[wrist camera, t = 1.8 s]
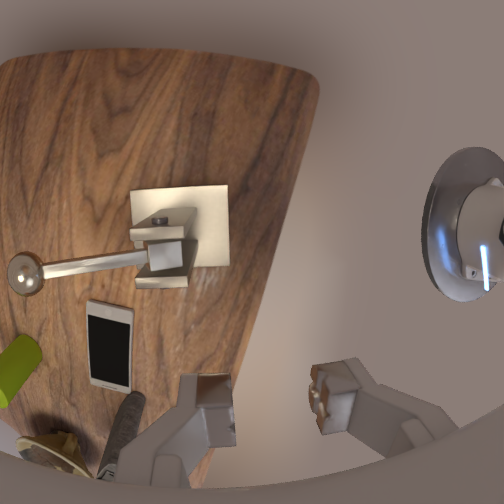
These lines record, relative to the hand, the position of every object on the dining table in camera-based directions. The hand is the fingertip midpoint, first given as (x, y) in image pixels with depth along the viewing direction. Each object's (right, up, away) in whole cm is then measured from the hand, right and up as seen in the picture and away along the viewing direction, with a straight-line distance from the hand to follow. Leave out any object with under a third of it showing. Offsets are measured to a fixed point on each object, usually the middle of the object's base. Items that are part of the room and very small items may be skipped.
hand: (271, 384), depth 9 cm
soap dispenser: (-39, -12, +30) cm, 51 cm away
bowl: (-40, -35, +36) cm, 65 cm away
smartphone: (-22, -10, +32) cm, 40 cm away
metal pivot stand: (-10, +7, +28) cm, 31 cm away
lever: (-14, +4, +14) cm, 21 cm away
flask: (-23, -24, +35) cm, 48 cm away
